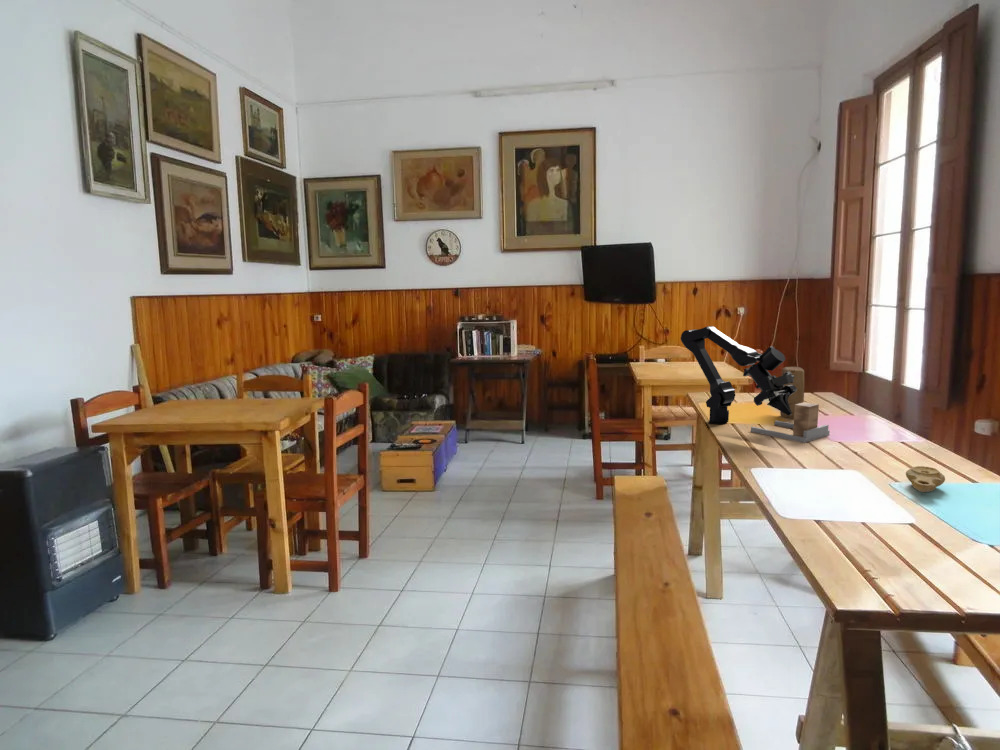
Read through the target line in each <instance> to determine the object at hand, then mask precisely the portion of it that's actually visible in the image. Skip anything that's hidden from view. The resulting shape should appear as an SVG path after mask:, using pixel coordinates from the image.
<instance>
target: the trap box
mask: <svg viewBox="0 0 1000 750" xmlns="http://www.w3.org/2000/svg"><path fill="white" fill-rule="evenodd" d="M774 426H779V427H783V428H787V429H793V428H794V423H791V422H787V421H781V420H776V419H775V420H774ZM750 432H752V433H755V434H761V435H765V436H770V437H775V438H780V439H783V440H784V439H785V440H789V441H795V442H799V443H802V444H803V443H805V444H806V443H808V442H811V441H814V440H818V439H821V438H824V437H827V436H830V433H831V432H830V430H829V425H828V424H823V425H820V426H817V427H816V428H813V429H810V430H806V431H804V433H803V437H800V436H795V435H793V434H789V433H784V432H779V431H775V430H770V429H765V428H760V427H754V426H751V427H750Z"/></svg>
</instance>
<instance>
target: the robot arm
mask: <svg viewBox="0 0 1000 750" xmlns="http://www.w3.org/2000/svg"><path fill="white" fill-rule="evenodd" d="M706 339H709V340H710V341H711V342H712V343H714V344H716V345H717V346H719V347H720V349H723V350H724V351H725V352H727V353H728V354H729V355H730V356H731V358H732V359H733V361H734V362H735V363H736V364H737V365H738V366H741V367H746V366H748V367H747V368H744V369H743V370H744V371H743V374H742V375H743V377H749V376H750V377H751V379H752V380H753V381H754V382H755V384H756V385H755V386H754V387H755V388H756V389H757V390H758V389H759V390H761V391H760V392H759V393H758V394H757V395H756V396H754V398H753V402H754V404H755V405H756V406H757V407H758V406H762V405H763V402H764V401H765V400H767V401H768V402H767V404H766V405H767V406H770V407H772V408H774V409H775V410H778V411H779V412H780V411H781V412H783V413H785V414H787V415H791V414H792V412H791V409H790V406H789V403H788V397H789V396H790V395H792V394H793V393H794V392H795V391H797V388H796V387H795V386H794V385H787V386H785V387H784V385H785V384H788V383H793V382H794V381H793V380H794V376H793V375H792V374H791V373H790V372H786V373H784V374H783V376H781V375H780V376H778V377H777V376H776V375H771V373H770V372H772V371H775V369H777V368H778V367H779V366H781V364H783V363H784V362H785V360H786V356H785V354H783V352H781V351H780V350H778V349H776V348H775V347H774V346H769V347H768V348H767V349H766V350H765V351H764V352H763V353H759V352H758V351H757V350H755V349H754V348H752V347H750V346H745V345H742V344H739V343H738V342H737V341H735V340H733V339H732V338H731V337H730V336H727V335H726V334H724V333H723V332H721V331H720V330H718V329H717V328H716V326H713V325H709V326H705V327H701V328H698V329H697V328H696V329H695V328H694V329H688V330H684V331H682V332H681V335H680V342H681V343H682V344H683V346H684V347H685V348H686V349H687V350H688V351H690V352H691V353H692V354H693V356H694V358H695V359H696V361H697V364H698V365H699V368H701V371H702V374H703V375H704V376H705V378H706V380H707V382H708V384H709V394H710V397H709V398H708V399H707V400H706V401H705V405H706V408H709V420H708V424H715V425H717V424H718V425H727V424H728V423H729V420H730V419H729V417H730V415H729V414H730V411H729V409H728V407H730V406H731V405H732V403H733V402H734V401H735V398H736V393H735V391H736V389H735V388H734V387H733V385H732V383H731V381H725V380H724V379H722V376H721V374H720V373H719V372H718V369H717V367H716V366H715V364H714V362H713V360H712V359H711V356H710V355H709V353H708V351H707V349H706ZM769 371H770V372H769ZM783 387H784V388H783ZM781 388H782V389H781Z"/></svg>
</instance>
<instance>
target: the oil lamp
mask: <svg viewBox="0 0 1000 750" xmlns="http://www.w3.org/2000/svg"><path fill="white" fill-rule="evenodd" d="M905 476H906V478H907V480H908V481H909V482H910V483H911V486H912V487H913V488H914V489H915V490H917V491H919V492H920V493H921V492H922V493H926V492H933V491H935V489H936V488H937V487H940V486H942V485H943V484H944V483H945V482H946V476H945V475H944V474H943V473H942V472H941V471H940V470H938V468H934V467H929V466H922V465H921V466H920V465H919V466H918V465H917V466H913V467H912V468H909V469H907V470H906V472H905Z"/></svg>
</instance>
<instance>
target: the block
mask: <svg viewBox="0 0 1000 750" xmlns="http://www.w3.org/2000/svg"><path fill="white" fill-rule="evenodd" d="M786 372H790V373H791V374H792V375H793V376H794V380H793V381H794V382H793V383H788V384H785V385H784V387H785V386H787V385H794V386H795V387H796V388H797V391H795V392H794V393H793V394H792V395H790V396H789V397H788V403H789V406H790V409H791V412H792V414H791V415H787V414H785V413H783V412H781V411H780V410H779V413H780V417H781V418H782V419H787V420H792V421H794V410H795V404H799V403H803V402H805V370H804V369H803V368H802V367H799V366H785V367H783V369H782V371H781V373H780V374H781V375H780V376H783V374H784V373H786ZM784 387H783V388H784ZM781 389H782V388H781Z"/></svg>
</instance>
